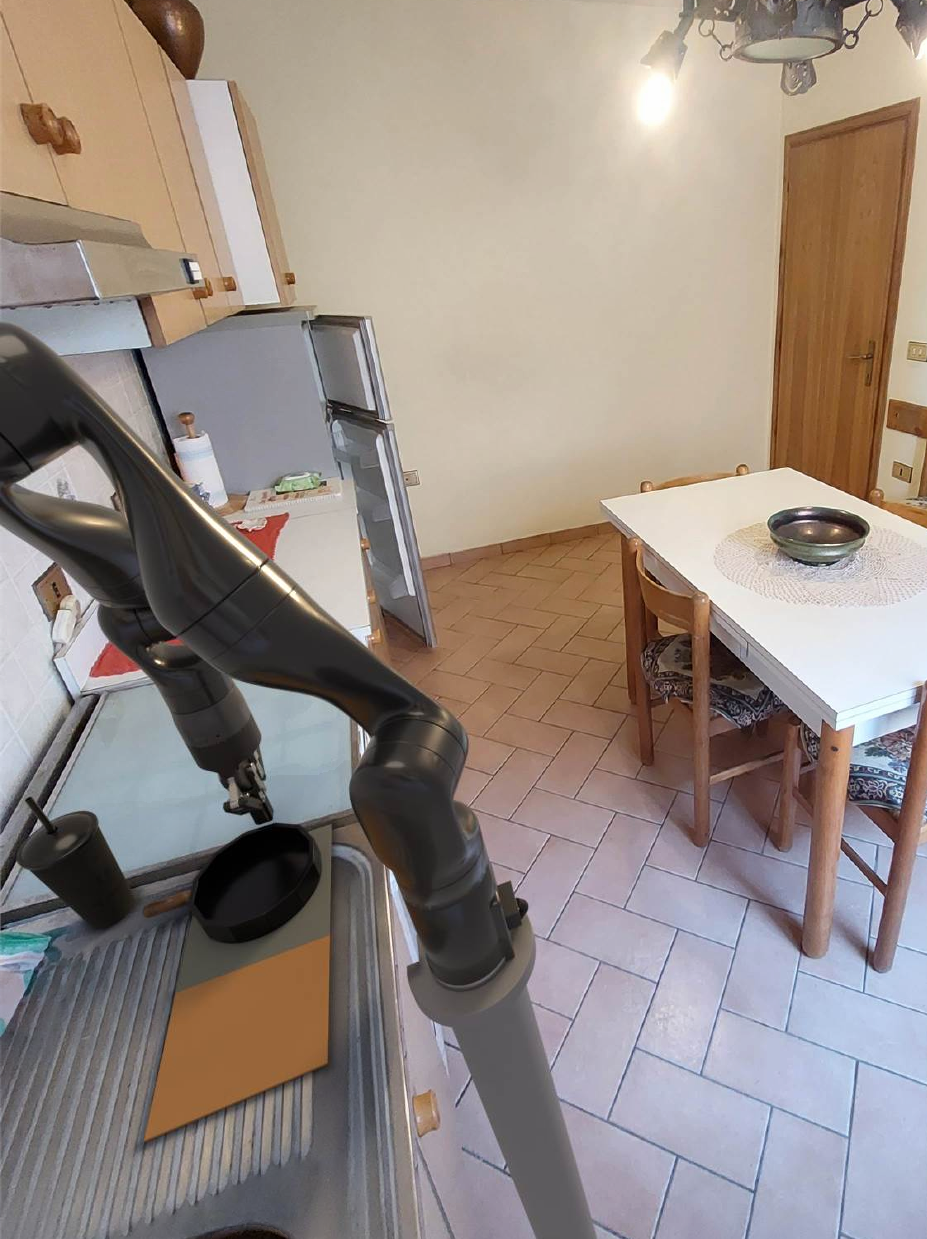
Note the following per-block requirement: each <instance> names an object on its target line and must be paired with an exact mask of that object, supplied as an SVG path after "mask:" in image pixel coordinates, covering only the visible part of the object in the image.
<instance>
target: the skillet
mask: <svg viewBox="0 0 927 1239" xmlns="http://www.w3.org/2000/svg"><path fill="white" fill-rule="evenodd" d="M308 832H309V831H307V830H306V829H305V828H304V827H303V825H301V824H298V823H287V822H271V823H267V824H266V825H262V826H259V827H257V828H253V829H251V830H247V831H245V832H243V833H241V834H239V835H238V836H236V837H235V838H233V839H232V840H231V841H230V842H228V843H227V844H225V845H224V846H222V847H220V848H219V849H218V850H216V851H214V853H213V854H212V855H211V857H210V858H209V859H208V860H207V862H206V863H205V864H204V866H202V867H201V869H200V870H199V871H198V873H197V875H196V876H195V877H194V878H193V880H192V884H191V889H188V890H184V891H182V892H179V893H176V894H173V895H169V896H166V897H165V898H164V897H163V898H160V899H157V900H155V901H151V902H149V903H147V904H145V906H144V907H143V909H142V916H143V917H145V918H147V919H151V918H153V917H157V916H160V915H163V914H165V913H168V912H172V911H174V910H177V909H180V908H184V907H186V906H187V907H188V909H189V910H190V912H191V913H192V916H193V915H194V916H195V918H196V920H197V921H198V922H199V924H200V925H201V927H202V928H203V930H204V931H205V933H206V934H207V935H208V937H209V938H210V939H213V940H215V941H218V942H221V943H226V944H237V943H244V942H249V941H252V940H255V939H258V938H261V937H263V936H265V935H267V934H269V933H271V932H273V931H275V930H276V929H278V928H280V927H281V926H283V925H284V924H285V923H287V922H288V921H289V920H291V919H292V918H293V917H294V916H295V915H296V914H297V913H298V912H299V911H300V910H301V909H302V908H303V907H304V906H305V905H306V903H307V902H308V901H309V900H310V898H311V897H312V895H313V894H314V892H315V890H316V888H317V886H318V883H319V881H320V877H321V873H322V861H321V852H320V850H319V848H318V846H317V844H316V842H315V839H314V838H313V837H312V836H311V835H310V834H309V833H308Z"/></svg>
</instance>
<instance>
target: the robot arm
mask: <svg viewBox="0 0 927 1239" xmlns="http://www.w3.org/2000/svg"><path fill="white" fill-rule="evenodd" d="M78 446H79V447H81V448H82V449H83V450H85V451H86V452H87V453H88V454H89V455H90V456H91V457H92V459H93V460H94V461H95V462H96V463H97V465H98V466H99V467H100V469H101V470H102V472H103V473H104V474H105V476H106V477H107V478H108V480H109V482H110V484H111V485H112V487H113V490H114V491H115V494H116V496H117V499H118V502H119V503H120V506H121V508H122V511H123V513H122V512H120V511H118V510H116V509H114V508H112V507H108V506H105V505H101V504H98V503H93V502H87V501H83V500H77V499H71V498H63V497H59V496H54V495H50V494H49V495H48V494H46V493H41V492H38V491H34V490H31V489H29V488H26V487H24V486H22V485H21V484H18V483H19V482H21V481H23V480H24V479H27V478H28V477H30V476H32V474H34V473H36V472H37V471H39V470H41V469H43V468H44V467H46V466H47V465H49V464H51V463H53V462H54V461H55V460H57V459H58V458H60V457H61V456H63V455H64V454H66V453H68V452H70V451H71V449H75V448H76V447H78ZM0 526H1V527H2V528H3V529H5V530H7V532H9V533H11V534H12V535H14V536H16V537H17V538H19V539H20V540H22V541H23V542H25V543H27V544H28V545H29V546H31V547H33V548H34V549H35V550H37V551H38V552H40V553H42V555H45V557H47V558H49V559H50V560H51V561H53V562H54V563H55V564H56V565H57V566H58V567H60V568H61V569H62V570H63V571H64V572H65V573H66V574H68V576H69V577H71V579H72V580H73V581H74V582H75V583H77V584H78V585H79V587H81V588H82V589H83V590H84V591H85V592H86V593H87V594H88V595H89V596H90V597H91V598H92V599H93V600H95V601H96V602H97V603H99V604H98V606H97V611H96V618H97V619H96V620H97V623H98V626H99V628H100V630H101V632H102V633H103V635H104V637H105V638H106V639H107V640H108V641H109V643H111V644H112V645H113V646H114V648H116V649H117V650H118V651H119V652H120V653H121V654H122V655H124V656H125V657H126V658H127V659H128V660H130V661H131V662H132V663H133V664H135V665H136V666H137V667H138V668H139V670H141V671H142V672H143V673H144V674H145V675H146V676H147V677H148V678H149V679H150V680H151V681H152V682H153V684H154V685H155V687H156V688H157V690H158V692H159V693H160V695H161V697H162V699H163V700H164V702H165V704H166V706H167V708H168V710H169V712H170V715H171V718H172V721H173V723H174V725H175V728H176V730H177V732H178V733H179V735H180V737H181V739H182V741H183V743H184V744H185V746H186V748H187V749H188V752H189V753H190V755H191V757H192V759H193V760H194V763H195V764H196V765H197V767H198V768H199V769H201V770H203V771H206V772H211V773H215V774H217V778H218V781H219V783H220V785H221V786H222V787H223V788H224V789H225V790H227V792H228V793H229V794H228V795H229V798H227V799H226V801H225V802H223V804H222V810H223V811H224V813H227V814H231V815H236V816H244V815H247V814H250V816H251V819H252V820H253V822H254V824H255V825H256V826H260V825H264V824H266V823H267V824H268V823H270V822H272V821H273V820H274V815H275V814H274V813H275V809H274V807H273V806H272V803H271V801H270V798H268V796H267V794H266V793H267V786H266V785H265V782H266V780H267V774H266V770H265V766H264V761H263V757H262V751H261V746H260V745H261V742H262V733H261V732H262V731H260V728H259V727H258V723H257V722H256V720H255V717H254V716H253V714H252V711H251V710H250V707H249V705H248V703H247V700H246V699H245V696H244V695H243V693H242V692H241V689H240V688H239V687H238V686H237V685H236V683H235V681H234V680H236V681H239V682H242V683H245V684H249V685H253V686H258V687H263V688H266V689H271V690H272V689H273V690H278V691H282V692H283V691H284V692H289V693H295V694H299V695H300V694H301V695H305V696H309V697H313V698H316V699H319V700H321V701H324V702H326V703H328V704H330V705H331V706H333V707H335V708H336V709H338V710H339V711H340V712H342V713H343V714H345V715H346V716H347V717H348V718H350V719H351V720H352V721H354V722H355V723H356V724H357V725H358V726H359V727H360V728H361V729H362V730H363V731H364V732H365V733H366V734H367V735H368V736H369V737H370V740H369V742H368V743H367V745H366V748H365V749H364V751H363V753H362V755H361V757H360V759H359V761H358V763H357V765H356V767H355V768H354V771H353V772H352V775H351V778H350V780H349V784H348V785H349V786H348V793H349V800H350V805H351V807H352V810H353V814H354V815H355V817H356V819H357V821H358V823H359V825H360V828H361V829H362V831H363V833H364V835H365V837H366V839H367V841H368V843H369V845H370V847H371V849H372V851H373V853H374V855H375V856H376V858H377V859H378V861H379V862H380V863H381V864H383V866H384V867H386V868H387V869H388V870H390V871H391V872H392V875H393V877H394V879H395V882H396V884H397V887H398V889H399V893H400V895H401V897H402V900H403V902H404V905H405V907H406V910H407V912H408V915H409V918H410V920H411V923H412V925H413V927H414V930H415V933H416V935H418V938H419V941H420V944H421V946H422V949H423V951H424V953H425V956H426V959H427V962H428V965H429V968H430V971H431V973H432V976H433V977H434V979H435V980H436V982H437V983H438V984H439V985H441V986H442V987H444V988H446V989H448V990H451V991H457V992H464V991H470V990H474V989H476V988H479V987H481V986H483V985H485V984H486V983H488V982H489V981H490V980H492V979H493V978H494V977H495V976H496V975H497V974H498V973H499V972H500V970H501V969H502V968H503V966H504V965H505V963H506V962H507V961H509V960H511V959H513V958H515V952H514V947H513V943H512V937H511V931H510V930H511V929H514V928H516V927H519V926H521V925H522V921H521V920H522V919H523V917H524V916H525V914H526V913H527V914H528V911H529V902H528V901H527V900H526V899H524V898H521V897H516V894H515V891H514V887H513V882H512V880H508V881H505V882H503V883H500V884H498V882H497V878H496V874H495V871H494V867H493V864H492V861H490V857H489V854H488V851H487V847H486V843H485V840H484V836H483V831H482V829H481V825H480V821H479V820H478V819H479V818H478V817H477V814H476V813H475V812H474V810H473V809H472V808H471V807H470V806H469V805H467V804H465V803H464V802H462V801H459V800H457V799H454V798H455V795H456V793H457V789H458V786H459V784H460V780H461V778H462V775H463V772H464V769H465V766H466V764H467V763H466V762H467V758H468V755H469V748H470V742H469V737H468V733H467V730H466V729H465V727H464V726H463V724H462V723H461V721H460V720H459V719H458V718H457V717H456V716H455V715H454V714H453V713H452V712H451V711H450V710H449V709H448V708H447V707H445V706H444V705H443V704H442V703H440V702H439V701H438V700H437V699H435V698H434V697H433V696H431V695H430V694H429V693H427V692H426V691H425V690H423V689H422V688H421V687H420V686H418V685H417V684H415V683H414V682H413V681H412V680H410V679H409V678H407V677H406V676H404V675H403V674H402V673H401V672H399V671H398V670H396V669H395V668H394V667H393V666H391V665H390V664H388V663H387V662H386V661H385V660H383V659H382V658H381V657H379V656H378V655H377V654H376V653H374V651H372V650H371V649H370V648H369V647H367V645H365V644H364V643H363V642H362V641H361V640H360V639H359V638H357V636H355V635H354V634H353V633H352V632H350V631H349V630H348V629H347V628H346V627H345V626H344V625H342V624H341V623H340V622H339V621H338V620H337V619H336V618H334V617H333V616H332V615H331V614H330V613H329V612H328V611H326V610H325V609H324V608H323V607H322V606H321V605H320V604H319V603H318V602H317V601H316V600H315V599H314V598H313V597H311V595H310V594H309V593H308V592H307V591H306V590H305V589H303V587H302V586H301V585H300V584H299V583H298V582H297V581H296V580H295V579H294V578H293V577H291V576H290V575H289V574H288V573H287V572H286V571H285V570H283V568H281V567H280V566H279V565H278V564H277V563H276V562H275V561H274V560H273V559H272V558H270V557H269V556H268V555H267V554H266V553H265V552H264V551H263V550H262V549H260V547H258V546H257V545H256V544H255V543H254V542H252V541H251V540H250V539H249V538H248V537H247V536H245V535H244V534H243V533H242V532H241V531H240V530H238V529H237V528H236V527H235V526H234V525H233V524H232V523H230V522H229V521H228V520H227V519H226V518H225V517H224V516H223V515H222V514H220V513H219V512H218V511H217V510H215V509H214V508H213V507H212V506H211V505H210V503H208V502H207V501H205V499H203V498H202V497H201V496H200V495H199V494H197V492H195V490H193V489H192V488H191V487H190V486H189V485H188V484H187V483H186V482H185V481H184V480H183V479H182V478H181V477H179V475H177V474H176V473H175V472H174V471H173V469H171V467H169V466H168V465H167V464H166V463H165V461H163V459H161V457H160V456H159V455H158V454H156V452H155V451H154V450H153V449H152V448H151V447H150V446H149V445H148V444H147V443H146V442H145V441H144V440H143V439H142V437H141V436H139V435H138V434H137V433H136V431H134V429H133V428H132V427H131V426H130V425H129V424H128V423H127V422H126V421H125V420H124V419H123V418H122V417H121V416H120V415H119V414H118V413H117V411H115V410H114V409H113V408H112V406H110V405H109V404H108V402H107V401H105V399H103V397H102V396H101V395H100V394H99V393H98V392H97V391H96V390H95V388H93V387H92V386H91V385H90V384H89V383H88V382H87V381H86V380H85V379H84V378H83V377H82V376H81V375H80V374H79V373H78V372H77V371H76V370H75V369H74V368H73V367H72V366H71V365H70V364H69V363H68V362H67V361H66V360H65V359H63V357H61V356H60V354H58V353H57V352H56V351H54V349H52V348H51V347H50V346H48V345H47V344H46V343H45V342H43V341H42V340H40V339H39V337H36V336H35V335H34V334H32V333H31V332H29V331H27V330H25V329H24V328H22V327H20V326H18V325H16V324H13V323H10V322H6V321H0ZM174 640H178V641H180V643H169V642H170V641H174ZM518 908H519V910H518Z"/></svg>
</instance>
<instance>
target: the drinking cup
mask: <svg viewBox="0 0 927 1239" xmlns="http://www.w3.org/2000/svg"><path fill="white" fill-rule="evenodd" d="M24 802H25V803H26V805H27V806H28V808H29V809H30V810H31V811H32V813H33V814H34V816H36V819H38V821H39V822H40V823H41V826H40V827H39V828H38V829H36V830H35V831H33V833H31V834H30V835H29V836H28V837H27V838H26V839H25V840H24V841H23V843H22V844H21V845H20V847H19V848H18V851H17V852H16V863H17V864H18V866H19V867H20V868H22V869H24V870H26V871H29V872H30V873H32V874H33V875H34V876H35V877H36V878H37V879H38V880H39V881H40V882H42V884H44V885H45V886H46V887H47V888H48V889H49V890H50V891H51V892H53V893H54V895H56V896H57V897H58V898H59V899H60V900H61V901H62V902H64V904H66V905H67V906H68V907H69V908H70V909H71V910H73V912H74V913H75V914H77V915H78V916H79V917H80V918H81V919H82V920H83V921H84V922H85V923H87V924H88V926H90V927H91V928H92V929H94V930H102V929H106V928H110V927H111V926H114V925H115V924H117V923H119V922H120V921H121V920H123V919H124V918H125V917H126V916H127V915H128V914H129V913H130V912H131V910H132V909H133V907H134V905H135V902H136V896H135V895H134V893H133V891H132V889H131V887H130V884H129V882H128V881H127V878H126V877H125V875H124V873H123V871H122V869H121V867H120V865H119V863H118V861H117V859H116V858H115V856H114V853H113V851H112V850H111V848H110V846H109V844H108V841H107V840H106V838H105V835H104V834H103V832H102V830H101V827H100V826H99V824H100V821H99V820H100V819H99V818H98V816H97V814H95V813H94V812H92V811H89V810H76V811H72V812H69V813H66V814H63V815H60V816H58V817H56V818H54V819H51V820H50V819H49V818H48V816H47V815H46V814H45V812H44V811H43V809H42V808H41V807H40V805H39V804H38V802H37V801H36V800H35V798H33V796H28V797H27V798H25V799H24Z"/></svg>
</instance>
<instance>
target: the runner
mask: <svg viewBox="0 0 927 1239" xmlns="http://www.w3.org/2000/svg"><path fill="white" fill-rule="evenodd" d="M332 830H333V825H332V823H330V824H327V825H324V826H321V827H318V828H314V829H312V830H309V831H307V832H308V833H309V834H310V835H311V836H312V837H313V838H314V839H315V842H316V844H317V846H318V848H319V850H320V852H321V861H322V873H321V877H320V881H319V883H318V886H317V888H316V890H315V892H314V894H313V895H312V897H311V898H310V900H309V901H308V902H307V903H306V905H305V906H304V907H303V908H302V909H301V910H300V911H299V912H298V913H297V914H296V915H295V916H294V917H293V918H292V919H291V920H289V921H288V922H287V923H285V924H284V925H283V926H281V927H280V928H278V929H276V930H275V931H273V932H271V933H269V934H267V935H265V936H263V937H261V938H258V939H255V940H252V941H249V942H244V943H237V944H226V943H221V942H218V941H215V940H213V939H210V938H209V937H208V935H207V934H206V933H205V931H204V930H203V928H202V927H201V925H200V924H199V922H198V921H197V920H196V918H195V916H194V915H193V914H192V916H191V922H190V926H189V930H188V935H187V940H186V944H185V947H184V948H185V949H184V954H183V958H182V962H181V967H180V970H179V977H178V980H177V986H176V990H175V995H174V998H173V999H174V1000H173V1005H172V1008H171V1013H170V1019H169V1023H168V1027H167V1032H166V1036H165V1041H164V1045H163V1050H162V1055H161V1060H160V1065H159V1068H158V1074H157V1078H156V1083H155V1086H154V1092H153V1097H152V1101H151V1106H150V1111H149V1115H148V1120H147V1125H146V1128H145V1133H144V1138H143V1142H144V1143H147V1142H150V1141H152V1140H154V1139H157V1138H160V1137H161V1136H163V1135H166V1134H168V1133H171V1132H173V1131H175V1130H177V1129H180V1128H183V1127H185V1126H187V1125H189V1124H192V1123H194V1122H196V1121H199V1120H201V1119H203V1118H206V1117H208V1116H210V1115H213V1114H216V1113H217V1112H220V1111H222V1110H224V1109H227V1108H229V1107H231V1106H234V1105H237V1104H238V1103H241V1102H243V1101H245V1100H248V1099H251V1098H253V1097H255V1096H257V1095H260V1094H262V1093H264V1092H266V1091H269V1090H272V1089H274V1088H276V1087H278V1086H280V1085H283V1084H285V1083H288V1082H290V1081H292V1080H295V1079H297V1078H299V1077H302V1076H304V1075H306V1074H308V1073H312V1072H314V1071H316V1070H318V1069H320V1068H323V1067H325V1066H327V1065H328V1064H329V1019H330V1018H329V1015H330V1014H329V1009H330V959H331V958H330V956H331V954H330V951H331V950H330V949H331V896H332V895H331V894H332V893H331V890H332V889H331V888H332V886H331V884H332V838H333V837H332V834H333V831H332Z"/></svg>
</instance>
